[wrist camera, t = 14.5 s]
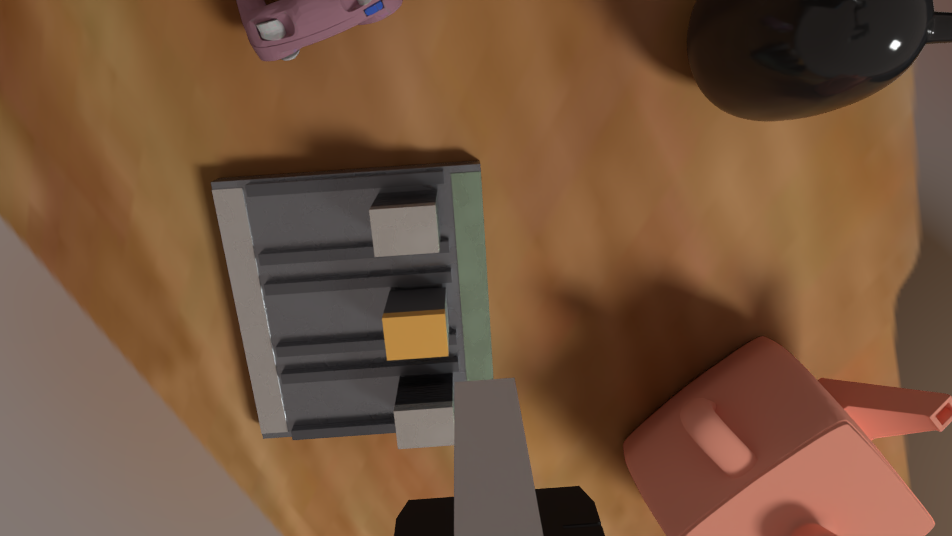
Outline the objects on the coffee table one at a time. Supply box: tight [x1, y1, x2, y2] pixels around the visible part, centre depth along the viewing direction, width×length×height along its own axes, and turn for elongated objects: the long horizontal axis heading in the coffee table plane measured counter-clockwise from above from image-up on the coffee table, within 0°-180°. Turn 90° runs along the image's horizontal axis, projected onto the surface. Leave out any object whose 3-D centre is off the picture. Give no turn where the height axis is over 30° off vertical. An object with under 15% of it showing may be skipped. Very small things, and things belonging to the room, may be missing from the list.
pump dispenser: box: [687, 0, 952, 121], centre depth 34 cm, size 10×10×15 cm
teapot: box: [623, 336, 952, 536], centre depth 44 cm, size 20×22×14 cm
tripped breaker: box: [382, 287, 449, 361], centre depth 42 cm, size 3×4×5 cm
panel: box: [211, 160, 493, 449], centre depth 43 cm, size 20×18×6 cm
